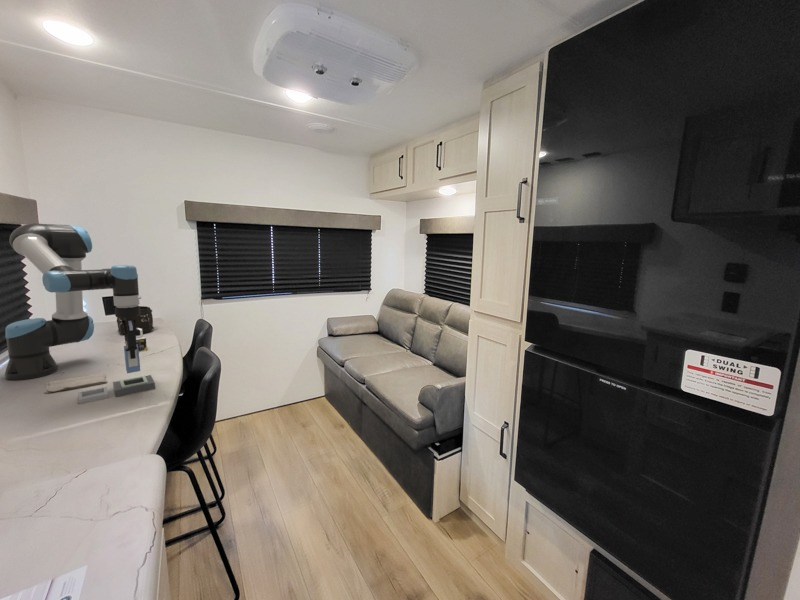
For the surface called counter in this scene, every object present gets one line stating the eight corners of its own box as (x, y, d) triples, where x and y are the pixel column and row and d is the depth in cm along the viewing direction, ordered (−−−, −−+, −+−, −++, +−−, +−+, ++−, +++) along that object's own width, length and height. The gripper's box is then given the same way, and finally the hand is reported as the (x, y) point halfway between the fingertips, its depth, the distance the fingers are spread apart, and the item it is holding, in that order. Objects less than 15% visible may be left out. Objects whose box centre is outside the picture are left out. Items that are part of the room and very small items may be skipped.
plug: (127, 373, 127) (124, 343, 125) (126, 370, 130) (123, 341, 128) (140, 370, 130) (137, 341, 128) (138, 368, 132) (136, 339, 131)
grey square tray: (78, 406, 117) (78, 399, 117) (78, 398, 123) (77, 392, 122) (108, 399, 123) (108, 393, 122) (107, 392, 128) (106, 386, 128)
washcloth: (46, 388, 131) (45, 380, 130) (106, 377, 143) (105, 370, 143) (43, 399, 122) (42, 391, 122) (108, 386, 135) (107, 379, 134)
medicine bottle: (130, 353, 172) (128, 331, 171) (126, 350, 177) (124, 328, 175) (147, 350, 178) (145, 328, 176) (142, 347, 182) (141, 326, 180)
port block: (116, 399, 123) (115, 389, 123) (113, 390, 130) (112, 380, 130) (155, 390, 132) (154, 381, 131) (151, 382, 139) (150, 373, 138)
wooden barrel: (125, 329, 216) (123, 305, 214) (157, 328, 221) (156, 305, 219) (111, 336, 199) (108, 311, 197) (146, 335, 205) (144, 310, 202)
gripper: (143, 308, 122) (148, 368, 126) (136, 302, 134) (141, 357, 138) (116, 310, 117) (122, 373, 121) (112, 303, 129) (118, 360, 133)
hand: (132, 364), depth 129 cm, fingers closed on plug, 4 cm apart
